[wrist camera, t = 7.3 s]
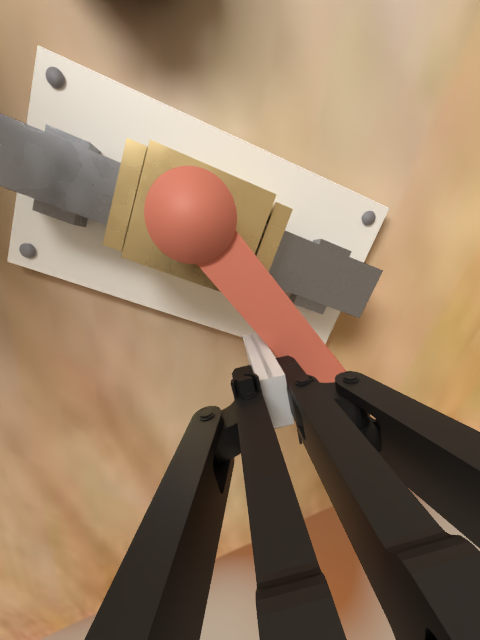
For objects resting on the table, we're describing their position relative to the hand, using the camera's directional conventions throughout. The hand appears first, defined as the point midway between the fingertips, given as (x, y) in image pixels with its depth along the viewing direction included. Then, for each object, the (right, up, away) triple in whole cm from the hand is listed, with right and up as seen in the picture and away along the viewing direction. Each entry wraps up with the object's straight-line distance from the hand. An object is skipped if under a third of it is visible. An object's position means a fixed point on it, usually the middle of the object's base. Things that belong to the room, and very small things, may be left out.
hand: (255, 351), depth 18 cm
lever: (0, +3, -2) cm, 4 cm away
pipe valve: (-4, +10, +5) cm, 12 cm away
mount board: (-4, +10, +5) cm, 12 cm away
